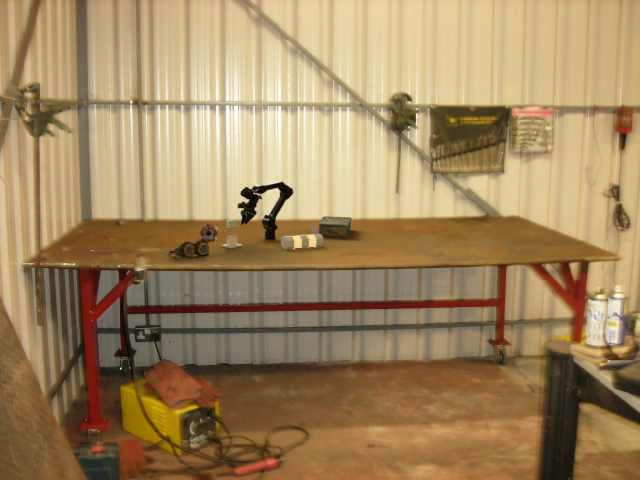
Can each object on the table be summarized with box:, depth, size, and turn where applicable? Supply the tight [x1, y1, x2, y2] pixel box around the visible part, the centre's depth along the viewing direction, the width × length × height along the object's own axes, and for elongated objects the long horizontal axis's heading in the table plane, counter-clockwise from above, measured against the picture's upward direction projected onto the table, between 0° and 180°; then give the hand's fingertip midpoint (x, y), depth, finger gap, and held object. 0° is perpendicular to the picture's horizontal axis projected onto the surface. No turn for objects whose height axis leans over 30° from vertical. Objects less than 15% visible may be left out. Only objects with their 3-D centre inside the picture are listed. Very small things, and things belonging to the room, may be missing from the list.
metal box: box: [318, 216, 352, 239], centre depth 463 cm, size 21×32×10 cm, turn 173°
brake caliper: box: [199, 222, 218, 242], centre depth 438 cm, size 11×11×12 cm
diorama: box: [280, 225, 325, 250], centre depth 416 cm, size 25×10×13 cm, turn 114°
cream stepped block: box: [221, 234, 243, 249], centre depth 416 cm, size 10×8×6 cm
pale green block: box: [226, 218, 238, 230], centre depth 414 cm, size 7×2×5 cm, turn 141°
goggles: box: [168, 239, 210, 258], centre depth 393 cm, size 24×24×10 cm
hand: (243, 224), depth 426 cm, fingers open, 9 cm apart
